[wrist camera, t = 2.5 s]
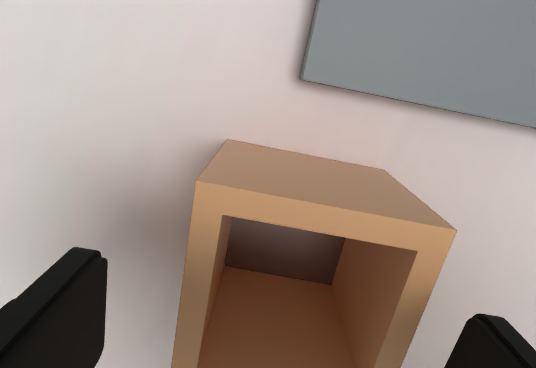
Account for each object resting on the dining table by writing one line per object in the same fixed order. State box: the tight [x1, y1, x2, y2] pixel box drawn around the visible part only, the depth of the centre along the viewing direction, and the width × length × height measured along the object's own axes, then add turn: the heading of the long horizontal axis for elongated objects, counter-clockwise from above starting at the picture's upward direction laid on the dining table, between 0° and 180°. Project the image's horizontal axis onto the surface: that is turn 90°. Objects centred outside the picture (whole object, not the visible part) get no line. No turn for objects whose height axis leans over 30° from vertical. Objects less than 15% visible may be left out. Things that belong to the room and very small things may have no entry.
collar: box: [171, 139, 457, 368], centre depth 12 cm, size 7×7×6 cm
